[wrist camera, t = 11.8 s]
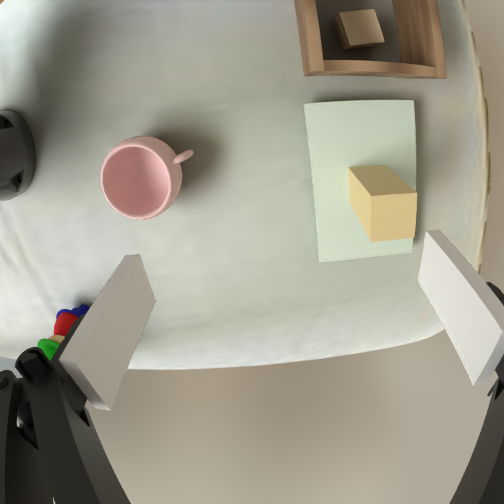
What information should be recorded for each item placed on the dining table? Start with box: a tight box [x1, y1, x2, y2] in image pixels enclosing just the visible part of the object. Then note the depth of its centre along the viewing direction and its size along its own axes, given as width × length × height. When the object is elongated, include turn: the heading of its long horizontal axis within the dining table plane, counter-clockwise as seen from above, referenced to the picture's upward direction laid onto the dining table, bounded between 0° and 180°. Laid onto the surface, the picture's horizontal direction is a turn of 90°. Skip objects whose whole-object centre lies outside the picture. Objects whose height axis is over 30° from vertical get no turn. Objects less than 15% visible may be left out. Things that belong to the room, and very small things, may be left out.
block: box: [333, 9, 385, 50], centre depth 26 cm, size 4×4×4 cm
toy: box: [38, 305, 90, 360], centre depth 46 cm, size 9×9×15 cm
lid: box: [303, 100, 417, 262], centre depth 32 cm, size 13×20×12 cm, turn 9°
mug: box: [101, 136, 193, 220], centre depth 36 cm, size 12×10×6 cm
